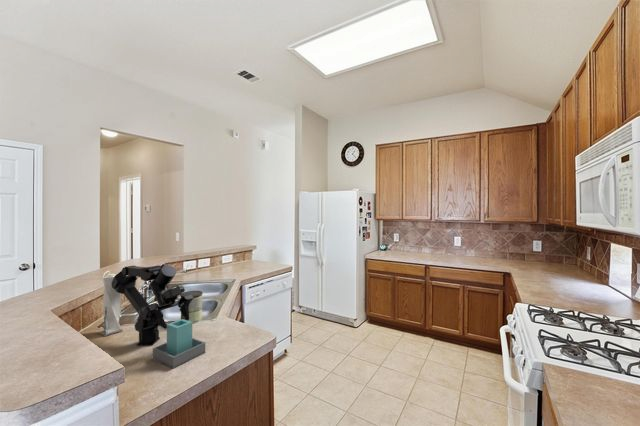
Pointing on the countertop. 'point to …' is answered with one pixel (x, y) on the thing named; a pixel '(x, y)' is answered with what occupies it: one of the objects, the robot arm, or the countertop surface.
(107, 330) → the skyscraper
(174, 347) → the teal square planter
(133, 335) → the countertop surface
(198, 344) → the gray square tray
